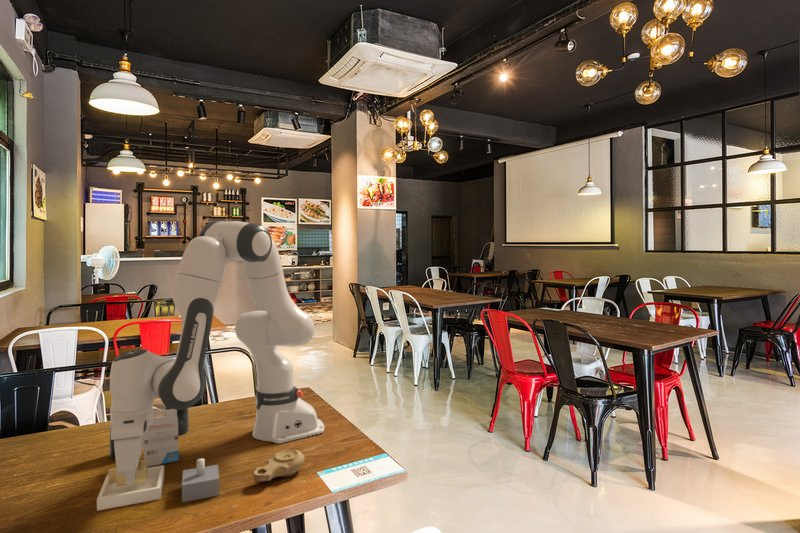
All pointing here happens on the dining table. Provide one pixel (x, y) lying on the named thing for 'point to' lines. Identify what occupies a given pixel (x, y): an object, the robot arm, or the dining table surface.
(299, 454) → the oil lamp
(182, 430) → the supplement bottle
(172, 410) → the ink box
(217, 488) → the grey pegged cube
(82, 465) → the dining table surface
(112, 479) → the tan square frame block
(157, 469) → the tray
